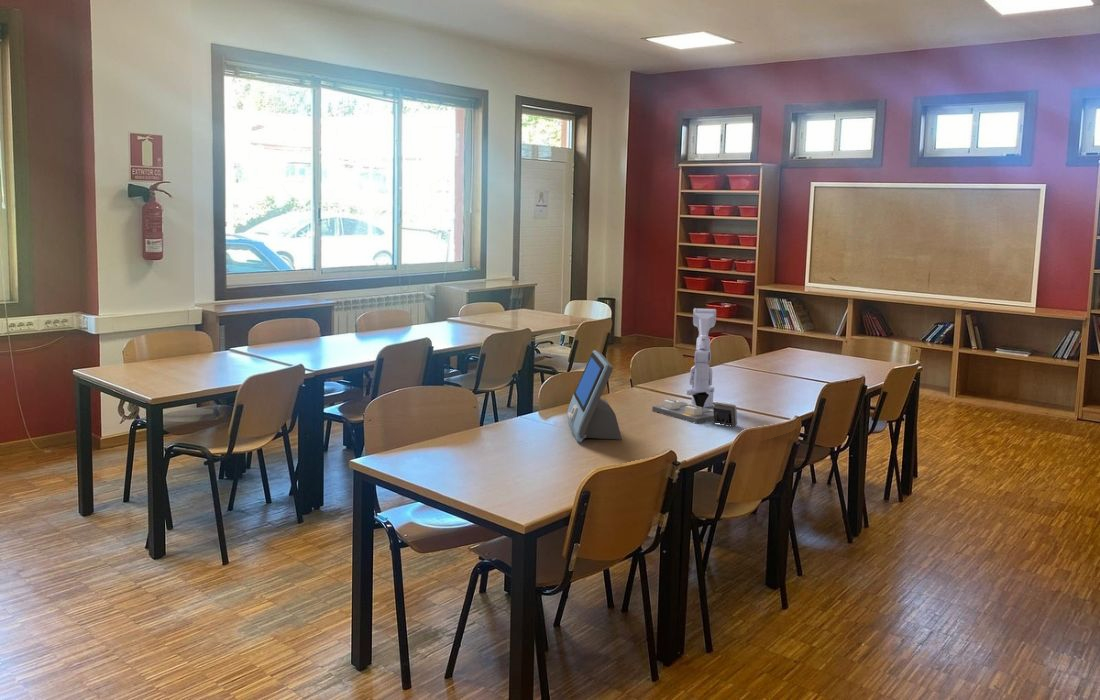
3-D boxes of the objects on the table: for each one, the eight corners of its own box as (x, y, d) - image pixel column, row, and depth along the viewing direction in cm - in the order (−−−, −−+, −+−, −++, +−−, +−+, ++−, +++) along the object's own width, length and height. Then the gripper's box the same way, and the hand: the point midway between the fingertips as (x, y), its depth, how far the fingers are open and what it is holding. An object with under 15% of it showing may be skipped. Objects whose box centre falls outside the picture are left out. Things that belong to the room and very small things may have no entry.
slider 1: (671, 405, 374) (671, 397, 373) (679, 408, 370) (680, 399, 369) (663, 407, 371) (663, 399, 370) (671, 409, 367) (671, 401, 366)
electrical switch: (737, 425, 351) (737, 404, 349) (732, 429, 347) (733, 407, 344) (715, 422, 356) (716, 400, 354) (710, 425, 352) (711, 404, 349)
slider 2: (693, 411, 364) (693, 403, 363) (702, 414, 360) (702, 405, 359) (684, 413, 361) (685, 404, 360) (693, 415, 357) (694, 407, 356)
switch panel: (681, 406, 384) (682, 401, 383) (726, 418, 363) (726, 413, 363) (652, 410, 373) (652, 406, 373) (696, 423, 352) (696, 418, 352)
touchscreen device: (562, 420, 352) (567, 347, 347) (610, 422, 354) (615, 350, 349) (572, 443, 317) (577, 363, 313) (624, 445, 319) (631, 365, 314)
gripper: (696, 381, 352) (694, 414, 355) (720, 378, 361) (718, 410, 363) (683, 378, 358) (682, 410, 360) (707, 375, 367) (706, 406, 369)
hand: (699, 410), depth 362 cm, fingers closed
